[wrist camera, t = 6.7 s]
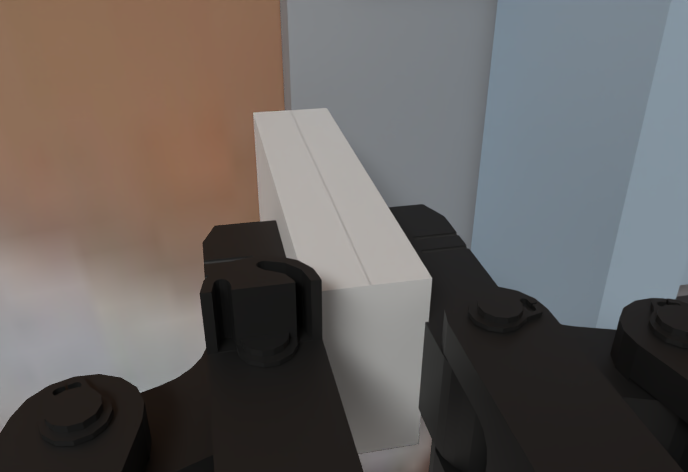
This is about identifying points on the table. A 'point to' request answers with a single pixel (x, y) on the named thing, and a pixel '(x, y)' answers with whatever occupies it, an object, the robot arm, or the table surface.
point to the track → (400, 92)
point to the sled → (586, 155)
